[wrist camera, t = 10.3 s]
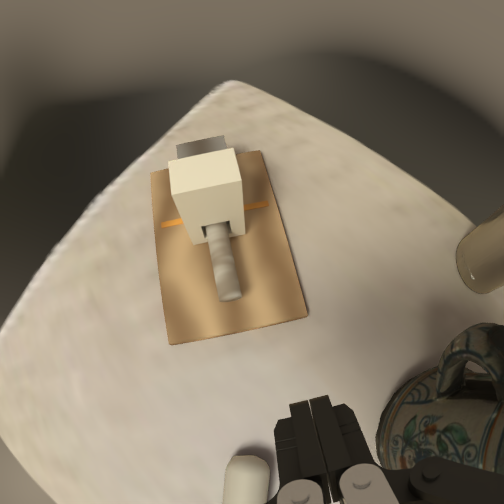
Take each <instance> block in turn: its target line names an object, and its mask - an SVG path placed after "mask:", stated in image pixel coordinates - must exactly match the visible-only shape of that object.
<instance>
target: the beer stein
mask: <svg viewBox="0 0 504 504" xmlns="http://www.w3.org/2000/svg"><path fill="white" fill-rule="evenodd" d="M468 360H469V361H472V362H475V363H477V364H478V365H480V366H481V367H482V368H483V369H484V370H485V371H486V372H487V373H476V372H473V371H471V370H470V369H468V368H466V367H465V366H466V363H467V362H468ZM375 438H376V449H377V456H378V459H379V461H380V464H381V466H382V467H383V468H385V469H389V470H399V469H408V468H413V467H414V465H415V464H416V463H417V462H419V461H420V460H422V459H424V458H427V457H441V458H444V459H447V460H451V461H454V462H457V463H461V464H464V465H468V466H472V467H475V468H479V469H483V470H487V471H491V472H495V473H499V474H504V326H503V325H498V324H495V323H480V324H476V325H474V326H471V327H469V328H468V329H466V330H465V331H463V332H462V333H461V334H459V335H458V336H457V337H456V338H455V339H454V340H453V341H452V342H451V343H450V344H449V345H448V347H447V348H446V350H445V351H444V353H443V355H442V357H441V360H440V363H439V365H438V367H435V368H432V369H429V370H427V371H425V372H423V373H422V374H420V375H418V376H416V377H414V378H412V379H410V380H409V381H408V382H407V383H405V384H404V385H403V386H402V387H401V388H400V389H399V390H398V391H397V392H396V393H394V395H393V397H392V398H391V400H390V401H389V403H388V405H387V406H386V408H385V409H384V411H383V412H382V414H381V418H380V422H379V426H378V430H377V434H376V437H375Z"/></svg>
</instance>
